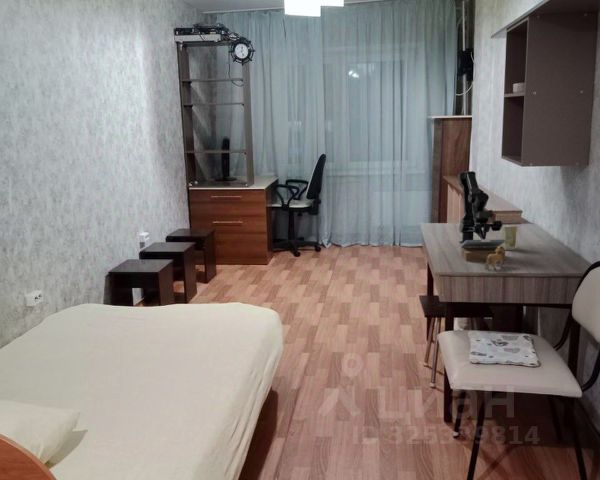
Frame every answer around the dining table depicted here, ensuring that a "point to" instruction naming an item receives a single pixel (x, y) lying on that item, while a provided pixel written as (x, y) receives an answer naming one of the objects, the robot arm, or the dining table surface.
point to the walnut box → (477, 253)
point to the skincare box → (508, 236)
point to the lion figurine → (496, 257)
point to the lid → (482, 243)
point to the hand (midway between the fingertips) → (484, 240)
